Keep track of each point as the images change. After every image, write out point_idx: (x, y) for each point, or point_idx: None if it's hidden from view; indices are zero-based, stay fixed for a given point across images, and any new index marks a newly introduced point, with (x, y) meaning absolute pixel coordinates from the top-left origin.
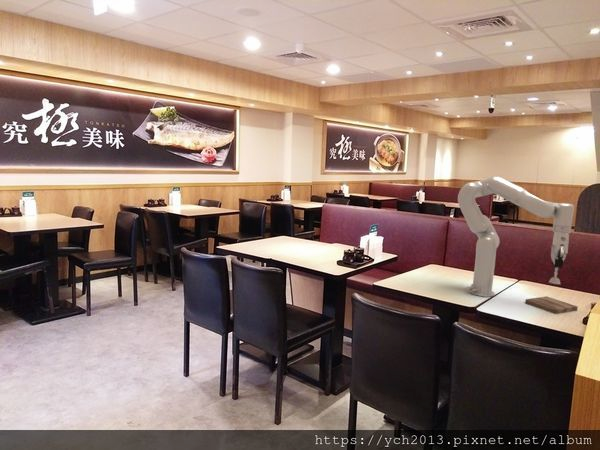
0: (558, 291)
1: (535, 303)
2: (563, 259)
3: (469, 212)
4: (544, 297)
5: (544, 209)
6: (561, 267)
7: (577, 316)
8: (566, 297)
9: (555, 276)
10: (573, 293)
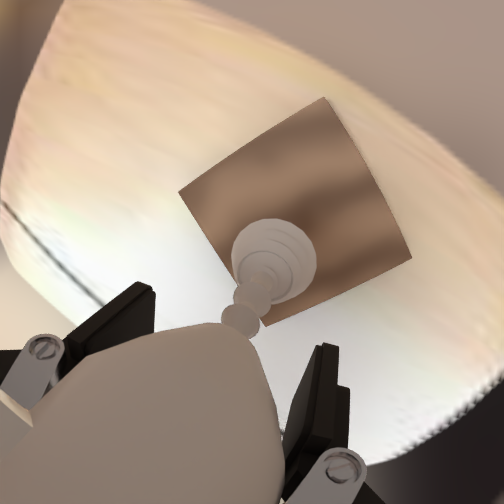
0: (57, 86)
1: (312, 304)
2: (262, 401)
3: None
4: (202, 213)
5: None
6: (336, 352)
7: (423, 155)
8: (119, 72)
9: (270, 290)
10: (68, 36)
